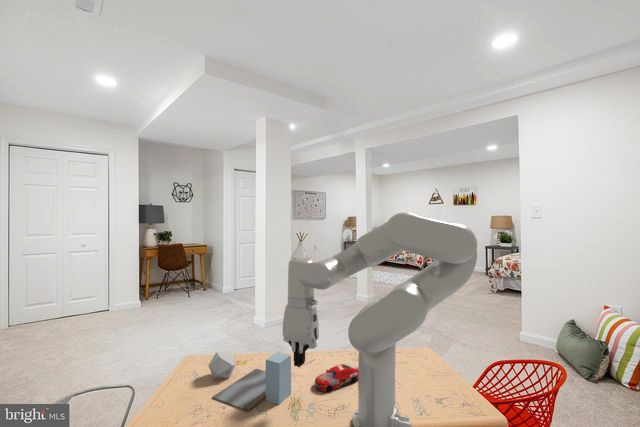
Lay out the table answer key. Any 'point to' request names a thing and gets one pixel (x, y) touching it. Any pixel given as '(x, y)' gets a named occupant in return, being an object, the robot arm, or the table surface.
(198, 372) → the table surface
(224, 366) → the die
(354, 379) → the race car
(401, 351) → the table surface
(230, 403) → the mat
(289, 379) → the tall block
